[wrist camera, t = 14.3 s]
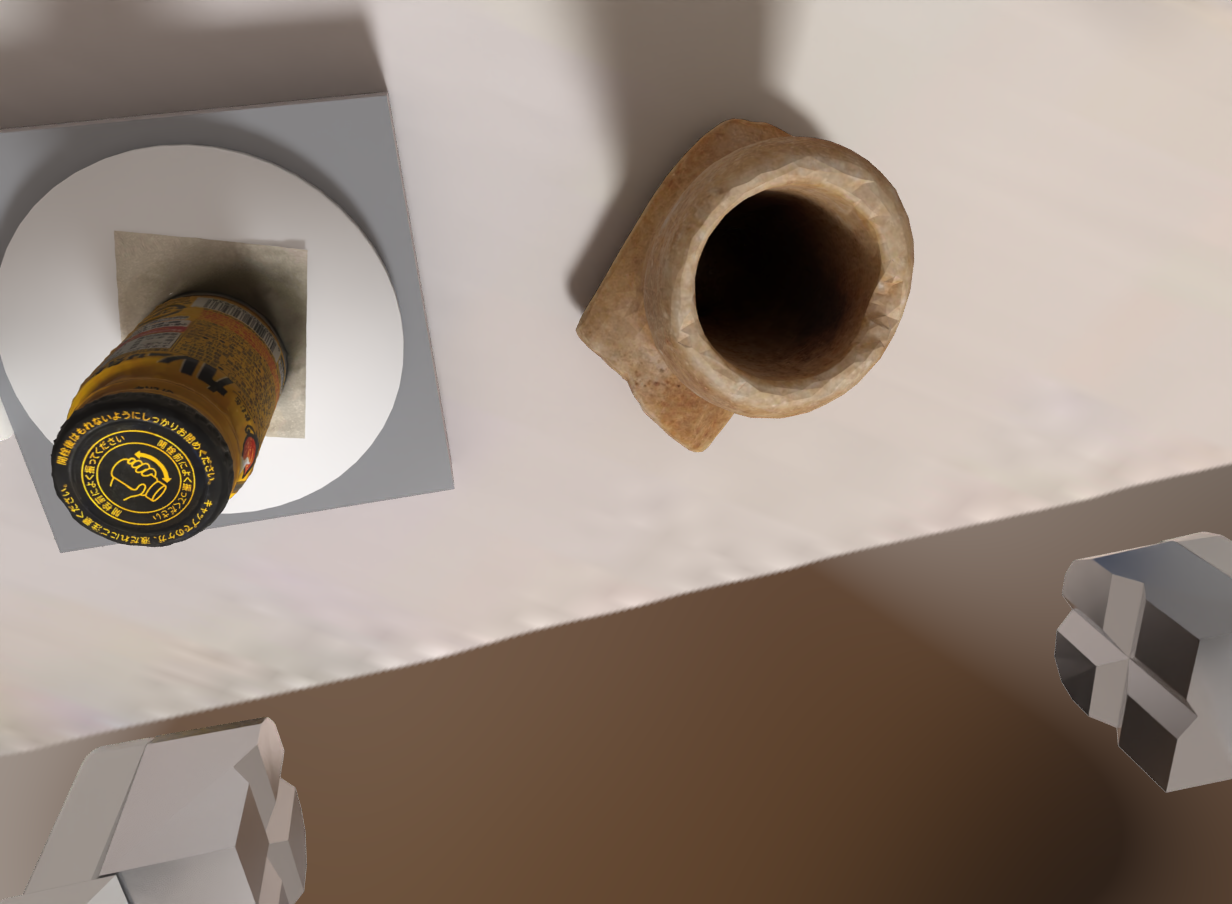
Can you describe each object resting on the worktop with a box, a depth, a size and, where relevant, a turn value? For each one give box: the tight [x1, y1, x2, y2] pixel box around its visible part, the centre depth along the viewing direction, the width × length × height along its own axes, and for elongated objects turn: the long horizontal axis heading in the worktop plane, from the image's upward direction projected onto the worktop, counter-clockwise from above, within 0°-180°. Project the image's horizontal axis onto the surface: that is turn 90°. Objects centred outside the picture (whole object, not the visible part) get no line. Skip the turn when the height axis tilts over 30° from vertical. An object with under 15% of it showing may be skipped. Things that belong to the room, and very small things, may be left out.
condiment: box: [51, 231, 308, 547], centre depth 34 cm, size 7×8×12 cm
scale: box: [0, 92, 454, 553], centre depth 40 cm, size 18×19×6 cm
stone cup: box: [576, 119, 914, 452], centre depth 40 cm, size 15×12×15 cm
